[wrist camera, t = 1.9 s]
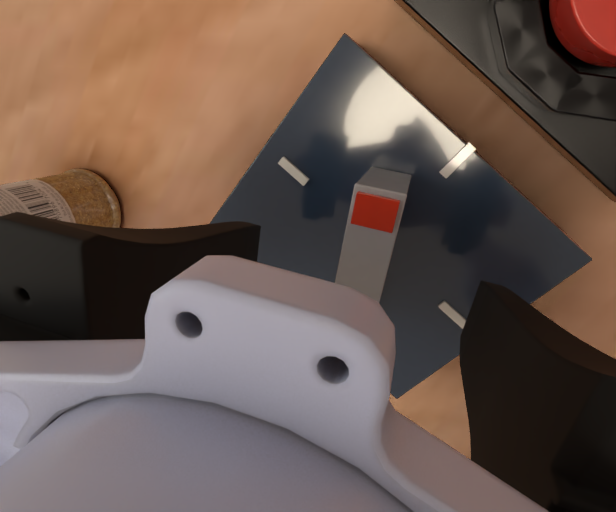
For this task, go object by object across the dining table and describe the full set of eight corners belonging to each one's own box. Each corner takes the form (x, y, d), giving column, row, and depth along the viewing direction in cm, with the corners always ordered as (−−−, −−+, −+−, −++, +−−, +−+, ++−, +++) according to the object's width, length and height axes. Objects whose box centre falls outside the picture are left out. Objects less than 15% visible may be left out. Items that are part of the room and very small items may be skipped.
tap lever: (377, 310, 17) (363, 362, 14) (341, 300, 17) (320, 349, 14) (412, 174, 15) (406, 196, 11) (370, 166, 15) (352, 184, 12)
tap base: (569, 233, 17) (597, 259, 14) (399, 363, 21) (395, 402, 18) (359, 41, 16) (345, 28, 14) (232, 214, 21) (202, 232, 18)
